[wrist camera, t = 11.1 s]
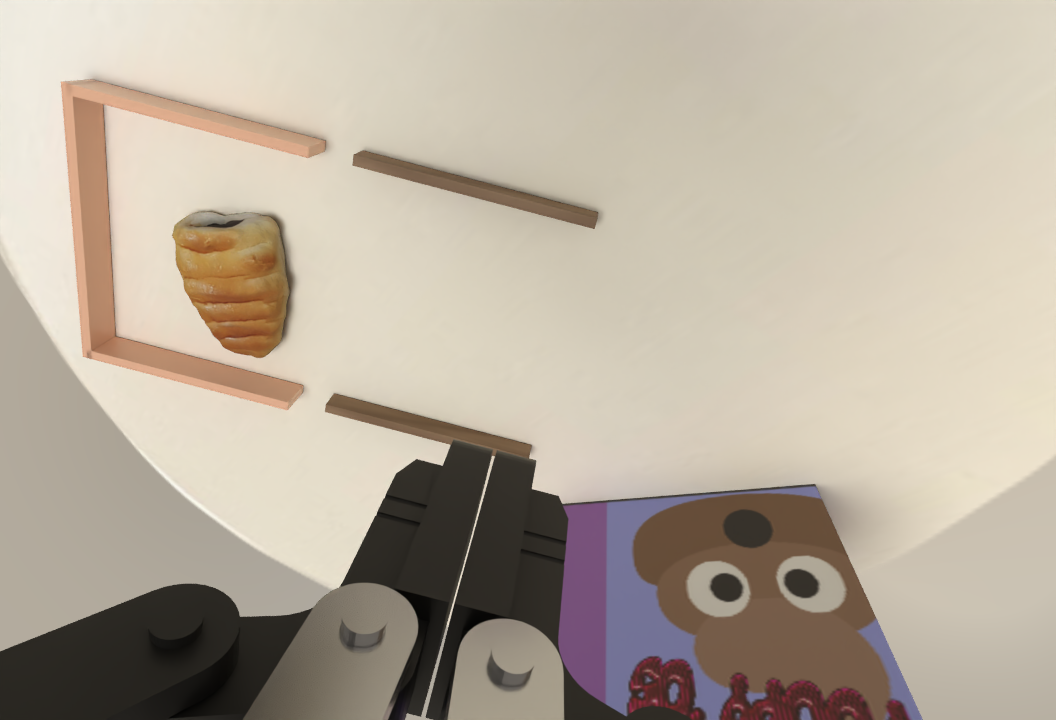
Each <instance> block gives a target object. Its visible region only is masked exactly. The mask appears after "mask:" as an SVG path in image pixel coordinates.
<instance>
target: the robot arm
mask: <svg viewBox="0 0 1056 720" xmlns="http://www.w3.org/2000/svg"><path fill="white" fill-rule="evenodd" d="M492 453H493V449H490V448H486V447H482V446H478V445H475V444H471V443H467V442H463V441H459V440H456V439H454V440H453V441H452V444H451V446H450V449H449V451H448V454H447V457H446V459H445V462H444V464H443V466H441V465H437V464H433V463H429V462H425V461H421V460H418V459H416V460H415V461H413V462H412V463H411V464H409V465H408V466H406V467H405V468H404V469H402V470H401V471H399V472H398V473H397V474H396V475H395V477H394V479H393V481H392V483H391V485H390V487H389V489H388V491H387V493H386V496H385V499H383V501H382V504H381V506H380V508H379V510H378V512H377V515H376V516H375V518H374V520H373V522H372V524H371V526H370V528H369V530H368V532H367V534H366V536H365V538H364V540H363V542H362V544H361V546H360V548H359V550H358V552H357V554H356V556H355V558H354V560H353V562H352V564H351V567H350V569H349V571H348V573H347V575H346V577H345V579H344V581H343V582H342V584H341V586H340V587H339V588H337V589H335V590H332V591H331V592H329V593H328V594H326V595H325V596H324V597H323V598H321V599H320V600H319V601H318V603H317V604H316V605H315V606H314V607H313V608H311V609H309V610H306V611H303V612H300V613H296V614H291V615H283V616H259V617H240V616H239V611H238V609H237V607H236V605H235V603H234V602H233V601H232V600H231V598H230V597H229V596H227V595H226V594H225V593H223V592H221V591H220V590H218V589H216V588H213V587H209V586H206V585H200V584H178V585H172V586H167V587H163V588H160V589H157V590H154V591H151V592H149V593H146V594H144V595H141V596H139V597H136V598H134V599H131V600H129V601H126V602H124V603H121V604H119V605H116V606H114V607H111V608H109V609H106V610H104V611H101V612H99V613H96V614H94V615H91V616H89V617H86V618H83V619H81V620H78V621H76V622H73V623H71V624H68V625H66V626H63V627H61V628H58V629H56V630H53V631H51V632H48V633H46V634H43V635H41V636H38V637H35V638H33V639H30V640H28V641H26V642H23V643H20V644H18V645H15V646H13V647H10V648H8V649H5V650H3V651H0V720H405V718H406V714H407V713H409V714H412V715H417V716H421V714H422V711H423V707H424V704H425V700H426V697H427V693H428V689H429V686H430V682H431V679H432V675H433V671H434V668H435V664H436V660H437V657H438V654H439V650H440V646H441V643H442V639H443V635H444V632H445V629H446V625H447V621H448V618H449V614H450V611H451V607H452V603H453V600H454V596H455V593H456V589H457V586H458V582H459V578H460V575H461V571H462V568H463V564H464V560H465V557H466V553H467V550H468V546H469V542H470V539H471V535H472V531H473V527H474V524H475V520H476V516H477V512H478V508H479V504H480V500H481V496H482V492H483V488H484V484H485V480H486V476H487V473H488V469H489V465H490V461H491V457H492ZM535 466H536V460H533V459H529V458H525V457H521V456H517V455H514V454H510V453H506V452H502V451H498V450H497V451H496V455H495V458H494V462H493V466H492V469H491V473H490V477H489V480H488V484H487V488H486V491H485V495H484V498H483V502H482V506H481V509H480V513H479V517H478V520H477V524H476V527H475V531H474V535H473V538H472V542H471V546H470V549H469V553H468V557H467V560H466V564H465V567H464V571H463V575H462V578H461V582H460V586H459V589H458V593H457V596H456V600H455V604H454V608H453V612H452V616H451V619H450V623H449V627H448V631H447V635H446V639H445V643H444V647H443V651H442V655H441V659H440V663H439V667H438V671H437V675H436V678H435V682H434V686H433V690H432V694H431V698H430V702H429V706H428V710H427V714H426V718H429V719H433V720H692V719H691V718H689V717H688V716H686V715H684V714H682V713H680V712H678V711H675V710H673V709H670V708H666V707H661V706H647V707H642V708H639V709H636V710H634V711H633V712H631V713H630V714H628V715H627V716H625V715H623V714H621V713H620V712H618V711H616V710H615V709H613V708H611V707H610V706H608V705H606V704H605V703H603V702H601V701H600V700H598V699H597V698H595V697H594V696H592V695H591V694H589V693H588V692H587V691H586V690H584V689H583V688H582V687H581V686H580V685H579V684H578V683H577V682H576V681H575V680H574V678H573V677H572V676H571V674H570V673H569V671H568V670H567V668H566V666H565V664H564V662H563V660H562V657H561V654H560V650H559V645H558V635H559V623H560V612H561V600H562V589H563V577H564V566H565V565H564V562H565V554H566V542H567V531H568V516H567V514H566V512H565V510H564V507H563V505H562V503H561V501H560V498H559V496H556V495H552V494H548V493H545V492H541V491H537V490H533V489H532V483H533V477H534V472H535Z"/></svg>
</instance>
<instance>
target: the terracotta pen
mask: <svg viewBox="0 0 1056 720" xmlns="http://www.w3.org/2000/svg"><path fill="white" fill-rule="evenodd" d="M61 89H62V101H63V114H64V126H65V139H66V151H67V164H68V176H69V189H70V201H71V214H72V226H73V239H74V251H75V264H76V276H77V289H78V301H79V314H80V326H81V339H82V351H83V357H86V358H90V359H94V360H97V361H101V362H105V363H109V364H113V365H117V366H120V367H124V368H128V369H132V370H136V371H139V372H143V373H147V374H151V375H155V376H159V377H162V378H166V379H170V380H174V381H178V382H182V383H185V384H189V385H193V386H197V387H201V388H204V389H208V390H212V391H216V392H220V393H224V394H227V395H231V396H235V397H239V398H243V399H247V400H250V401H254V402H258V403H262V404H266V405H269V406H273V407H277V408H281V409H285V410H288V409H289V408H290V407H291V406H292V405H293V403H294V402H295V401H296V400H297V399H298V398H299V396H300V395H301V394H302V393H303V385H299V384H296V383H292V382H288V381H284V380H280V379H277V378H273V377H269V376H265V375H261V374H257V373H254V372H250V371H246V370H242V369H238V368H234V367H231V366H227V365H223V364H219V363H215V362H212V361H208V360H204V359H200V358H196V357H192V356H189V355H185V354H181V353H177V352H173V351H169V350H166V349H162V348H158V347H154V346H150V345H147V344H143V343H139V342H135V341H131V340H127V339H124V338H120V337H116V335H115V316H114V298H113V279H112V261H111V242H110V224H109V205H108V187H107V168H106V150H105V131H104V113H103V104H104V105H108V106H112V107H116V108H120V109H123V110H127V111H131V112H135V113H139V114H142V115H146V116H150V117H154V118H158V119H161V120H165V121H169V122H173V123H177V124H181V125H184V126H188V127H192V128H196V129H200V130H203V131H207V132H211V133H215V134H219V135H222V136H226V137H230V138H234V139H238V140H241V141H245V142H249V143H253V144H257V145H260V146H264V147H268V148H272V149H276V150H279V151H283V152H287V153H291V154H295V155H299V156H302V157H306V158H309V157H312V156H314V155H317V154H319V153H322V152H324V151H325V143H326V141H324V140H321V139H317V138H313V137H309V136H305V135H302V134H298V133H294V132H290V131H286V130H282V129H279V128H275V127H271V126H267V125H263V124H260V123H256V122H252V121H248V120H244V119H241V118H237V117H233V116H229V115H225V114H222V113H218V112H214V111H210V110H206V109H203V108H199V107H195V106H191V105H187V104H184V103H180V102H176V101H172V100H168V99H165V98H161V97H157V96H153V95H149V94H146V93H142V92H138V91H134V90H130V89H126V88H123V87H119V86H115V85H111V84H107V83H104V82H100V81H96V80H92V79H90V80H77V81H65V82H61Z"/></svg>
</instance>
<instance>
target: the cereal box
mask: <svg viewBox="0 0 1056 720" xmlns="http://www.w3.org/2000/svg"><path fill="white" fill-rule="evenodd" d="M562 505H563V507H564V510H565V512H566V514H567V516H568V531H567V542H566V554H565V562H564V565H565V566H564V577H563V589H562V600H561V612H560V623H559V635H558V645H559V650H560V654H561V657H562V660H563V662H564V664H565V666H566V668H567V670H568V671H569V673H570V674H571V676H572V677H573V678H574V680H575V681H576V682H577V683H578V684H579V685H580V686H581V687H582V688H583V689H584V690H586V691H587V692H588V693H589V694H591V695H592V696H594V697H595V698H597V699H598V700H600V701H601V702H603V703H605V704H606V705H608V706H610V707H611V708H613V709H615V710H616V711H618V712H620V713H621V714H623V715H625V716H627V715H628V714H630V713H631V712H633V711H634V710H636V709H639V708H642V707H647V706H661V707H666V708H670V709H673V710H675V711H678V712H680V713H682V714H684V715H686V716H688V717H689V718H691V719H692V720H923V719H922V717H921V715H920V713H919V711H918V708H917V706H916V704H915V702H914V700H913V697H912V695H911V693H910V691H909V689H908V686H907V684H906V682H905V680H904V678H903V676H902V673H901V671H900V669H899V667H898V665H897V663H896V661H895V658H894V656H893V654H892V652H891V649H890V647H889V645H888V643H887V641H886V638H885V636H884V634H883V632H882V630H881V628H880V625H879V623H878V621H877V619H876V617H875V615H874V612H873V610H872V608H871V606H870V604H869V601H868V599H867V597H866V595H865V593H864V591H863V588H862V586H861V584H860V582H859V579H858V577H857V575H856V573H855V571H854V568H853V566H852V564H851V562H850V560H849V558H848V555H847V553H846V551H845V549H844V547H843V544H842V542H841V540H840V538H839V536H838V534H837V531H836V529H835V527H834V525H833V523H832V520H831V518H830V516H829V514H828V512H827V509H826V507H825V505H824V503H823V501H822V499H821V496H820V494H819V492H818V490H817V488H816V485H815V484H812V485H799V486H786V487H773V488H761V489H748V490H735V491H723V492H710V493H697V494H684V495H672V496H659V497H646V498H633V499H621V500H608V501H595V502H582V503H570V504H562Z"/></svg>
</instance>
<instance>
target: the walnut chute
mask: <svg viewBox="0 0 1056 720" xmlns="http://www.w3.org/2000/svg"><path fill="white" fill-rule="evenodd" d="M353 166H357V167H361V168H364V169H368V170H372V171H376V172H380V173H383V174H387V175H391V176H395V177H399V178H402V179H406V180H410V181H414V182H418V183H421V184H425V185H429V186H433V187H437V188H440V189H444V190H448V191H452V192H456V193H460V194H463V195H467V196H471V197H475V198H479V199H482V200H486V201H490V202H494V203H498V204H501V205H505V206H509V207H513V208H517V209H520V210H524V211H528V212H532V213H536V214H539V215H543V216H547V217H551V218H555V219H558V220H562V221H566V222H570V223H574V224H578V225H581V226H585V227H589V228H593V229H595V225H596V222H597V217H598V212H595V211H591V210H587V209H583V208H579V207H575V206H572V205H568V204H564V203H560V202H556V201H553V200H549V199H545V198H541V197H537V196H534V195H530V194H526V193H522V192H518V191H515V190H511V189H507V188H503V187H499V186H496V185H492V184H488V183H484V182H480V181H477V180H473V179H469V178H465V177H461V176H458V175H454V174H450V173H446V172H442V171H439V170H435V169H431V168H427V167H423V166H419V165H416V164H412V163H408V162H404V161H400V160H397V159H393V158H389V157H385V156H381V155H378V154H374V153H370V152H366V151H361V152H358V153H356V154H354V157H353ZM325 412H328V413H332V414H335V415H339V416H343V417H347V418H351V419H354V420H358V421H362V422H366V423H370V424H374V425H377V426H381V427H385V428H389V429H393V430H397V431H400V432H404V433H408V434H412V435H416V436H419V437H423V438H427V439H431V440H435V441H439V442H442V443H446V444H450V445H451V444H452V441H453V440H454V439H456V440H459V441H463V442H467V443H471V444H475V445H478V446H482V447H486V448H490V449H493V453H492V456H495V455H496V451H497V450H498V451H502V452H506V453H510V454H514V455H517V456H521V457H525V458H529V455H530V450H531V445H529V444H525V443H521V442H517V441H513V440H510V439H506V438H502V437H498V436H494V435H491V434H487V433H483V432H479V431H475V430H471V429H468V428H464V427H460V426H456V425H452V424H448V423H445V422H441V421H437V420H433V419H429V418H426V417H422V416H418V415H414V414H410V413H406V412H403V411H399V410H395V409H391V408H387V407H384V406H380V405H376V404H372V403H368V402H364V401H361V400H357V399H353V398H349V397H345V396H341V395H338V394H334V395H333V396H332V397H331V398H330V400H329V401H328V402H327V404H326V408H325Z"/></svg>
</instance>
